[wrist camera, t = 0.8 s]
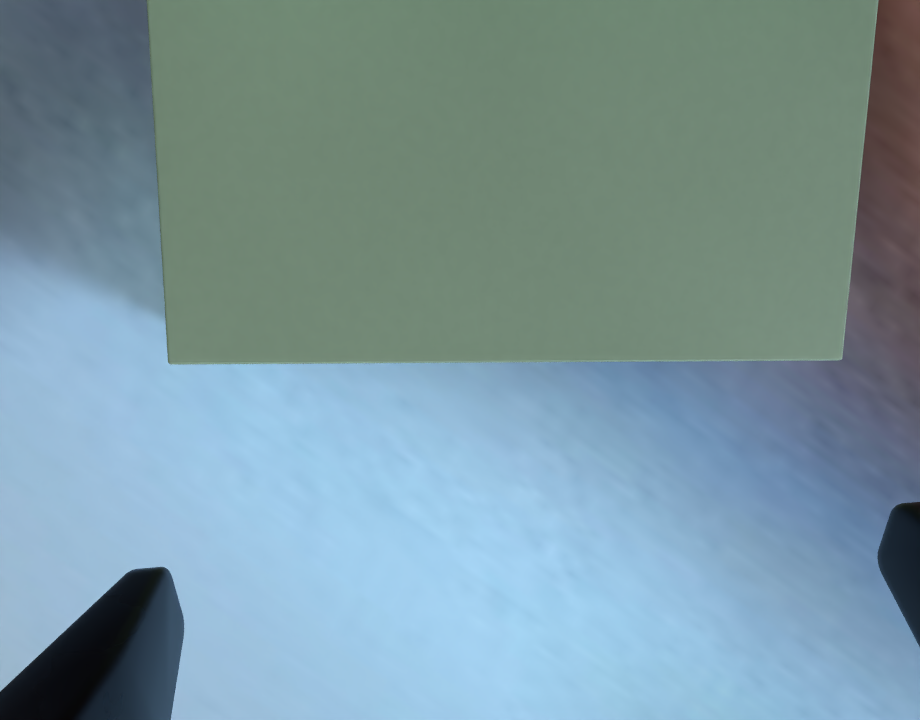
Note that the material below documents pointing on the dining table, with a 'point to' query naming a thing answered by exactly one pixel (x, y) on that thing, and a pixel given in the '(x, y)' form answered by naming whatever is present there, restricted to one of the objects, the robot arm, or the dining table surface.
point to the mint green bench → (508, 178)
